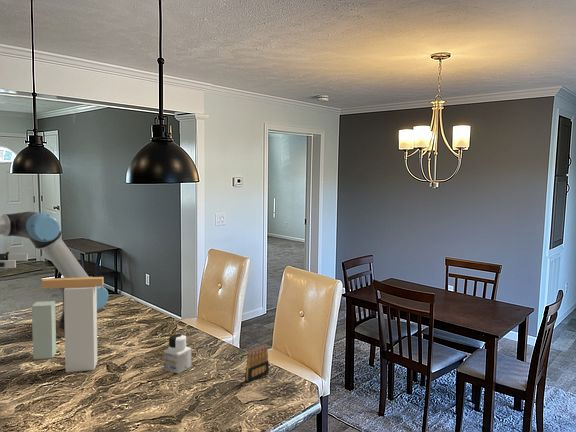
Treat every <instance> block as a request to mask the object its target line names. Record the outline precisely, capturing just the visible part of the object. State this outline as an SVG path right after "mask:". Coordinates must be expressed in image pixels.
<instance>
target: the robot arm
mask: <svg viewBox="0 0 576 432" xmlns="http://www.w3.org/2000/svg"><path fill="white" fill-rule="evenodd" d="M60 228H61V226H60V223H59V221H58V219H56V217H54V216H53V215H51V214H48V213H45V212H34V211H23V212H17V213H16V212H15V213H5V214H2V215H1V216H0V235H2V236H4V237H19V238H20V237H21V238H24V239H25V238H26V239H29V240H30V242H31V243H32V245H33V246H34V247H35V248H36V249H38V250H42V252H43V253H44V254H45V255H46V256H47V257H48V259H49V260H50V262H52V264H53V265H54V266H55V268H56V269H57V270H58V272H59V273H60V274H61V276H62V277H63V278H85V277H90V276H89V274H87V272H86V271H85V270H84V268H83V267H82V265H81V264H80V262H79V261H78V260H77V259H76V256H75V255H74V254H73V253H72V251H71V250H70V249H69V248H68V246H67V245H66V243H65V242H64V240H63V239H62V236H63V233H62V231H61V230H60ZM28 255H29V254H28V253H10V252H9V251H6V252H5V253H4V252H3V253H0V269H15V268H17V263H16V262H26V261H27V262H28V258H29V256H28ZM61 289H62V313H61V315H60V319H59V321H58V322H59V323H58V324H59V328H61V329H65V320H64V289H65V288H61ZM96 291H97V311H98V310H101V309H102V308H104V307H105V305H106V304H107V302H108V299H109V291H108V289H106V287H105V286H104V285H103V286H96Z"/></svg>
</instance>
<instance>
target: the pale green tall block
mask: <svg viewBox="0 0 576 432" xmlns="http://www.w3.org/2000/svg"><path fill="white" fill-rule="evenodd" d="M56 323H57V322H56V300H52V301H51V300H49V301H47V300H46V301H35V302H34V304H32V305H31V325H32V327H31V328H32V359H33V360H45V359H53V358H54V356H55V355H56V353H57V333H56V329H57V328H56V326H57V325H56Z"/></svg>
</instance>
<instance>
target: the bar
mask: <svg viewBox="0 0 576 432" xmlns="http://www.w3.org/2000/svg"><path fill="white" fill-rule="evenodd" d="M104 284H105V283H104V276H89V277H85V278H64V277H63V278H62V277H59V278H58V277H57V278H43V279H42V280H41V289H42V290H43V289H62V288H71V287H96V286H103V287H104Z"/></svg>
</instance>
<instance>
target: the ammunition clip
mask: <svg viewBox="0 0 576 432" xmlns="http://www.w3.org/2000/svg"><path fill="white" fill-rule="evenodd" d="M246 356H247V357H246V366H245V374H244V375H245V377H244V378H245V379H244V381H245V380H246V381H245V382H247V381H248V383H250V382H252V381H254V380H253V379H255V380H257V379H259V378H261V377H263V376H262V375H264V376H265V374H266V375H268V374H269V372H270V369H269V368H270V365H269V364H270V363H269V362H270V360H269V352H268V344H267V343H265V344H264V343H263V344H262V345H261V346H260V345H258V347H257V346H255V347H254V348H253V347H252V348H251V350H250V349H248V351H247V355H246ZM267 373H268V374H267ZM260 376H261V377H260ZM258 377H259V378H258ZM256 378H257V379H256ZM251 380H252V381H251ZM249 381H250V382H249Z"/></svg>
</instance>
